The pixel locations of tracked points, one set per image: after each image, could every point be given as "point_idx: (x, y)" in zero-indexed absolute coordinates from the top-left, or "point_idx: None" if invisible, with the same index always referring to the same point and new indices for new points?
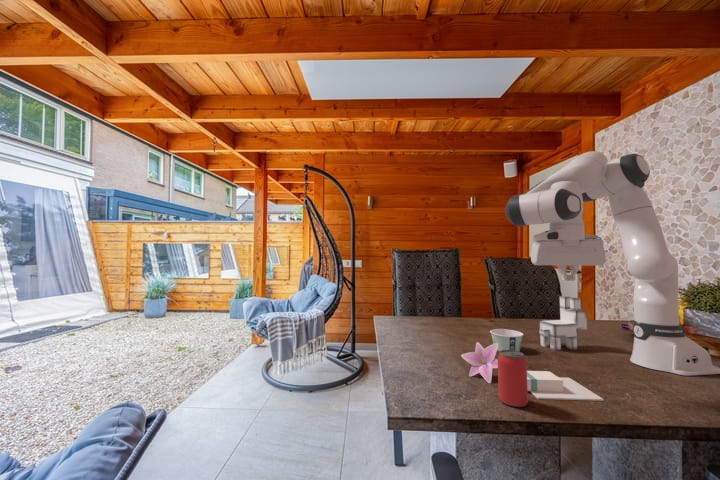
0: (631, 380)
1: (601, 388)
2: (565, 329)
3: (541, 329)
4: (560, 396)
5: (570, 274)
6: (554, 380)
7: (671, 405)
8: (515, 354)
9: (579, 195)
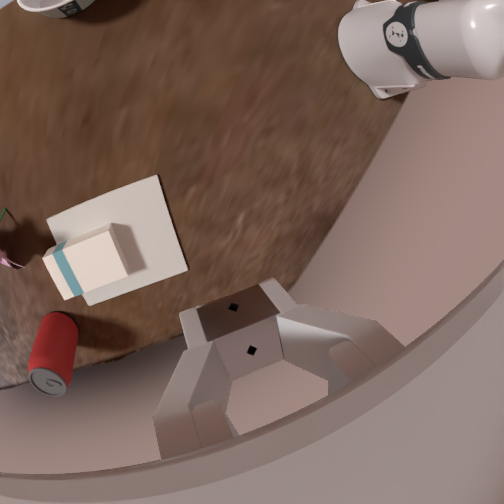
0: (284, 138)
1: (205, 207)
2: None
3: None
4: (121, 288)
5: (279, 335)
6: (113, 281)
7: (283, 243)
8: (54, 387)
9: None
